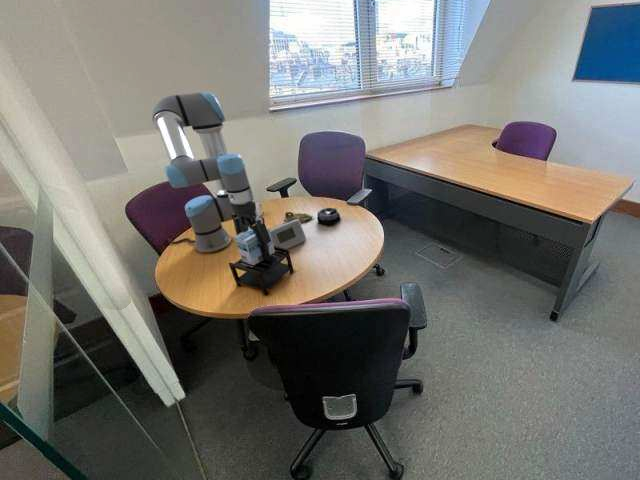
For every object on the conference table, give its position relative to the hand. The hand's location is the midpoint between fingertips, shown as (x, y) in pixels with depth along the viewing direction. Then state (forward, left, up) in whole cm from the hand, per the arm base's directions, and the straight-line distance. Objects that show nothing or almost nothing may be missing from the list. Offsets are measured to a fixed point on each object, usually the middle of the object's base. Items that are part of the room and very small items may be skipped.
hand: (259, 255), depth 118 cm
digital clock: (-7, +23, -11) cm, 27 cm away
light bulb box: (0, 0, 0) cm, 0 cm away
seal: (-20, +46, -11) cm, 52 cm away
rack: (0, 0, -11) cm, 11 cm away
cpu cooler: (-3, +50, -11) cm, 52 cm away
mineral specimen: (-45, +39, -11) cm, 61 cm away
